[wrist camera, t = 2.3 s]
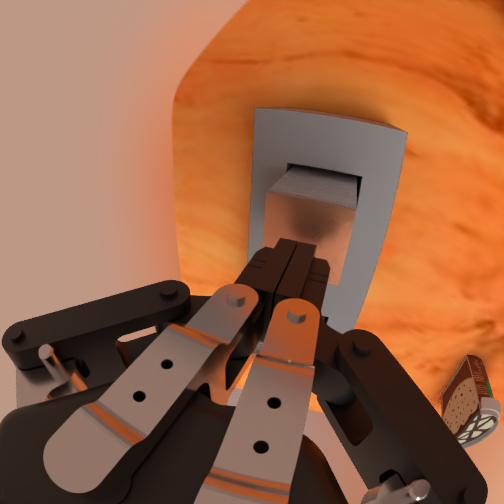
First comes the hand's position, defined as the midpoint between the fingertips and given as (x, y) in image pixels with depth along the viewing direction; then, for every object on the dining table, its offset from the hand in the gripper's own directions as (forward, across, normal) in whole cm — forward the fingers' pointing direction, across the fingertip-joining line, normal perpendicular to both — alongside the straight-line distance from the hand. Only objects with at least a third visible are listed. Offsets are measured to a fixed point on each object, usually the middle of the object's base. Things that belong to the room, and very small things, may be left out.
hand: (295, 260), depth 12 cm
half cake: (+15, -27, +22) cm, 38 cm away
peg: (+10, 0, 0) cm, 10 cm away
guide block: (+15, 0, +5) cm, 16 cm away
